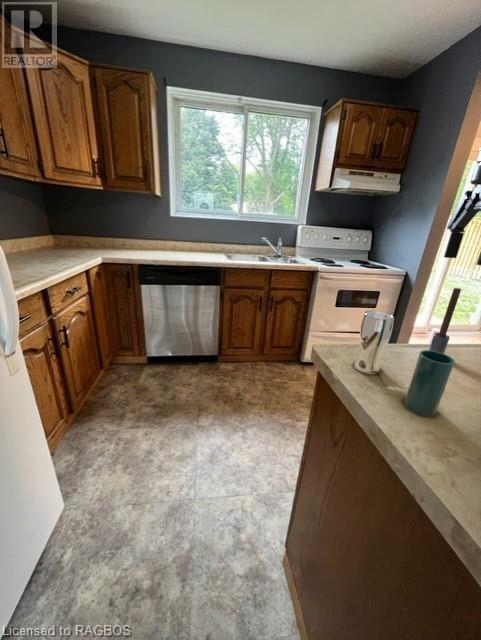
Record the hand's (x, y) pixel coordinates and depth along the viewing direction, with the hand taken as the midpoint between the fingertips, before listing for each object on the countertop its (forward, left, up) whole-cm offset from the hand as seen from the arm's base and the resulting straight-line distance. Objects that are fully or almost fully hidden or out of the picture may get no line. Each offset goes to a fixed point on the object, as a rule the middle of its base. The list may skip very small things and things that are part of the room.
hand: (465, 261), depth 67 cm
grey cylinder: (-2, -3, -28) cm, 28 cm away
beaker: (+13, +24, -28) cm, 39 cm away
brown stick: (-2, -3, -27) cm, 28 cm away
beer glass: (+20, +9, -28) cm, 36 cm away
